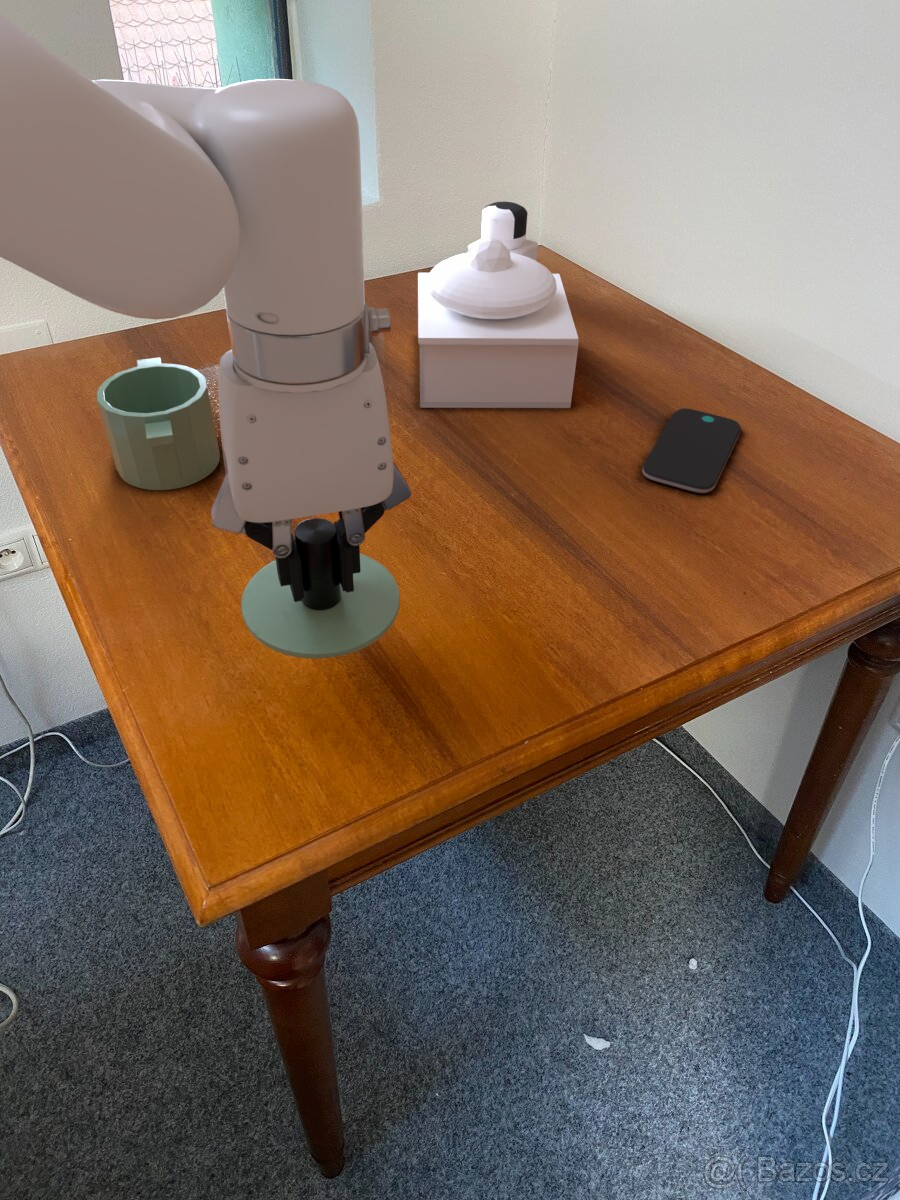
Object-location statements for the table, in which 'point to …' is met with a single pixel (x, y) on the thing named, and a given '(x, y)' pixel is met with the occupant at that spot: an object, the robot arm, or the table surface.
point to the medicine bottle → (507, 228)
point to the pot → (159, 425)
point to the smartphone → (692, 451)
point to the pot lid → (320, 601)
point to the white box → (494, 333)
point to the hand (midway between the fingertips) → (319, 582)
